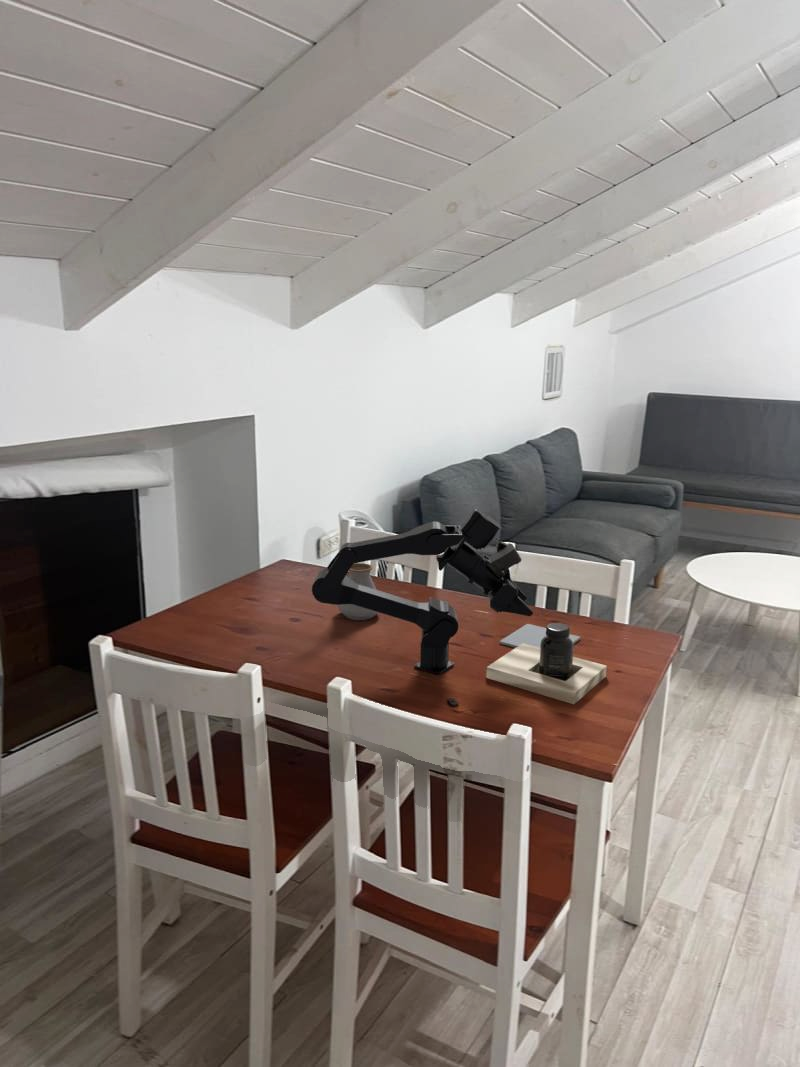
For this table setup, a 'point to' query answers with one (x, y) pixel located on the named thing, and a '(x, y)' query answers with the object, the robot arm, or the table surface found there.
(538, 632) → the rubber mat
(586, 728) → the table surface
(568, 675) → the supplement bottle
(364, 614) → the coffee pot
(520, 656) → the well board
